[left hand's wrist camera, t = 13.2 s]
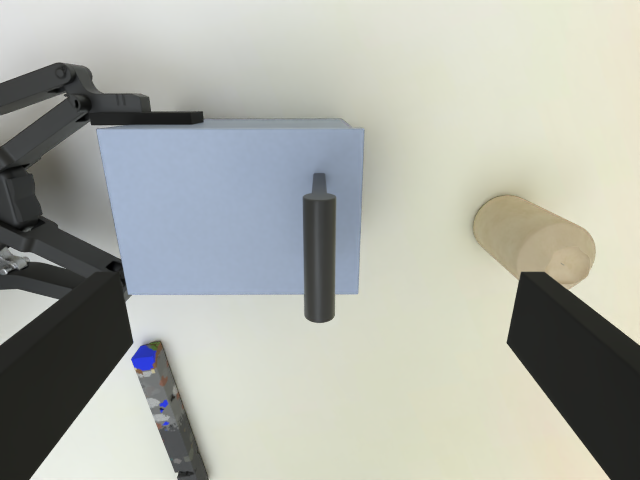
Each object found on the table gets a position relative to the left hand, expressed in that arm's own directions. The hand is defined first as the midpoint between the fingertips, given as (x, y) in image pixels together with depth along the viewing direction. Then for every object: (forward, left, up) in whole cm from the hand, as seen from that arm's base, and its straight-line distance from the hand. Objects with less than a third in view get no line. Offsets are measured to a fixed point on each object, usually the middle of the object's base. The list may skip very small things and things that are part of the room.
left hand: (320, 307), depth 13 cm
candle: (-17, -4, -23) cm, 28 cm away
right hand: (+7, +4, -16) cm, 18 cm away
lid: (+4, +2, -12) cm, 13 cm away
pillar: (+1, +31, -23) cm, 39 cm away
